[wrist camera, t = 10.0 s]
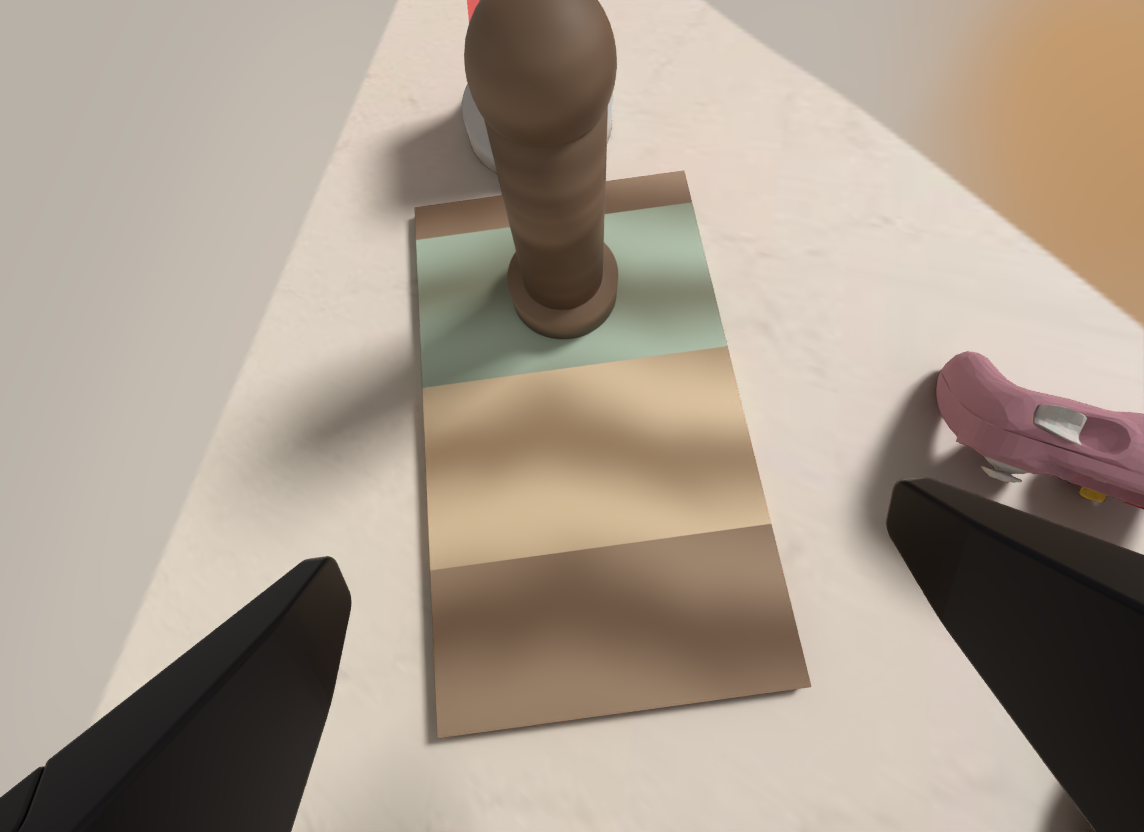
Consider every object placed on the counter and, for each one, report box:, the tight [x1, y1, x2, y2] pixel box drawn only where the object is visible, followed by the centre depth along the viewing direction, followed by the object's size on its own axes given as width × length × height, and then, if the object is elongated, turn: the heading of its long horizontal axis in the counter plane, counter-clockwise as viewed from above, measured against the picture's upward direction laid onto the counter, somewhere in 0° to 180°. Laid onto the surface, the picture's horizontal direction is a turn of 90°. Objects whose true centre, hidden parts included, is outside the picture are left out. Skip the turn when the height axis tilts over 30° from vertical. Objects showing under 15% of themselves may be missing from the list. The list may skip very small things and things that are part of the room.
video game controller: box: [936, 351, 1144, 509], centre depth 19 cm, size 10×5×7 cm, turn 68°
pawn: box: [464, 0, 618, 339], centre depth 18 cm, size 5×5×13 cm
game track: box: [415, 171, 811, 738], centre depth 23 cm, size 24×14×1 cm, turn 7°
